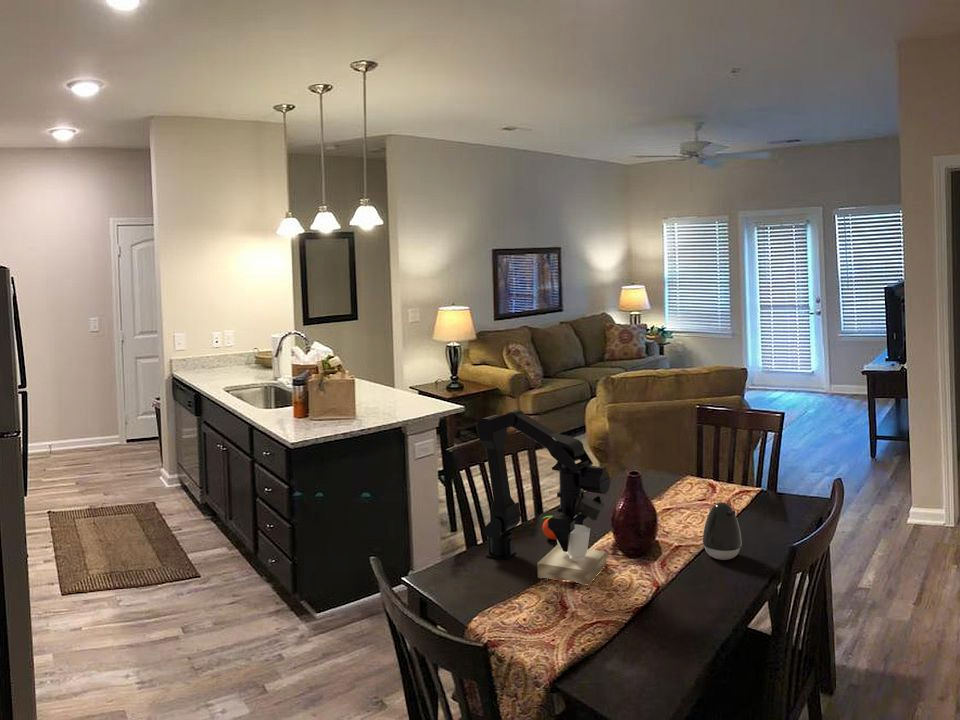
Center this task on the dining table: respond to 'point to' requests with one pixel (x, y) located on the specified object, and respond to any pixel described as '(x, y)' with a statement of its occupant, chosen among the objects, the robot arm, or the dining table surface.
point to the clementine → (546, 530)
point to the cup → (578, 543)
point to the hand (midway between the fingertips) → (571, 545)
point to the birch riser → (571, 566)
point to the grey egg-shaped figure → (722, 532)
